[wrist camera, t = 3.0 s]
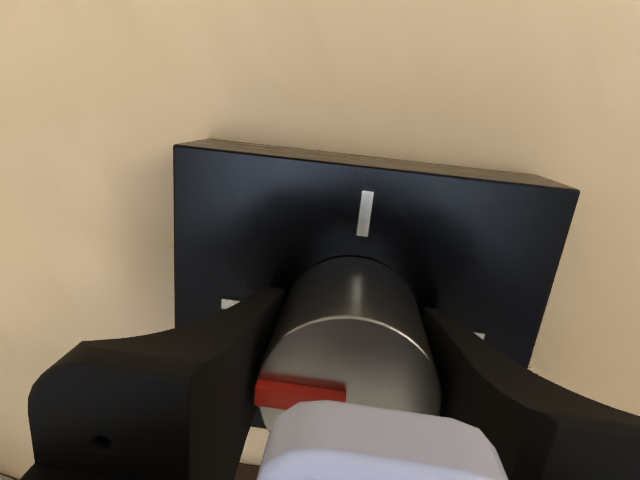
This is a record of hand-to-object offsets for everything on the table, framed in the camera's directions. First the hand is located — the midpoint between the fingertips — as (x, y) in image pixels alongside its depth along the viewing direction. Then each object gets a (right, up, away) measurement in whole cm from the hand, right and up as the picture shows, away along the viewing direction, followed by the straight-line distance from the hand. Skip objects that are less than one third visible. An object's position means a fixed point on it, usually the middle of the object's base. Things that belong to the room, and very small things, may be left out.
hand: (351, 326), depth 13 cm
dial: (0, 0, 0) cm, 0 cm away
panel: (0, +1, +3) cm, 3 cm away
